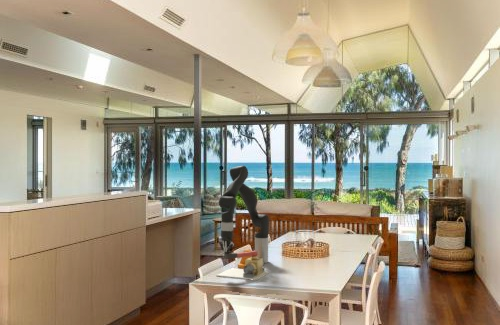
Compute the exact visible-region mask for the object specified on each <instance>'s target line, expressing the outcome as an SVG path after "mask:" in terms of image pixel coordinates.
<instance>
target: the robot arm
mask: <svg viewBox="0 0 500 325" xmlns="http://www.w3.org/2000/svg"><path fill="white" fill-rule="evenodd" d="M229 176H230V178H231V180H232V182H231V183H230V184H229V185H228V187H227V189H226V190H225V192H223V194H222V195H221V196H220V198H219V200H218V206H219V207H220V209H229V210H228V211H224V212H222V213H221V224H220V238H221V241H219V242H218V243H219V246H220V248H221V250H222V251H223V253H224V255H223V256H224V258H225V254H226V253H231V252H232V251H233V249H234V248H235V246H236V244H235V243H234V242H233V238H234V214H235V208H236V206H237V199H236V198H237V196H238V194H240V196H241V199H242V201H243V203H244V205H245V207H246V209H247V211H248V213H249V217H250V220H251V222H252V225H253V227H255V228H260V230H259V231H257V232H256V233H254V251H258V256H257V258H263V261H264V264H267V263H269V234H270V217H269V215H268V214H263V213H261V214H260V213H259V212H258V211H257V205H258V196H257V195H256V193H255V191H254V190H253V189H252V188H251V187H249V186H248V185H246V184H245V181H246V180H247V179H248V176H249V170H248V168H247V166H245V165H240V166H234V167H231V168H230V169H229Z"/></svg>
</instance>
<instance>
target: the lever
mask: <svg viewBox="0 0 500 325" xmlns="http://www.w3.org/2000/svg"><path fill="white" fill-rule="evenodd" d="M248 256H258V251H255V250H251V252H243V251H242V252H229V253H226V254H225V257H224V259H225V260H230V259H238V258H239V259H241V258H242V257H248Z"/></svg>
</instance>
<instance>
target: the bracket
mask: <svg viewBox="0 0 500 325" xmlns="http://www.w3.org/2000/svg"><path fill="white" fill-rule="evenodd" d="M251 251H252V250H251V249H249V248H246V249H245V250H243V251H242V252H251ZM250 257H251V256H248V257H240V261H239V263H237V269H244V267H245V260H246V259H248V258H250Z"/></svg>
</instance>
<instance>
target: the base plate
mask: <svg viewBox="0 0 500 325" xmlns="http://www.w3.org/2000/svg"><path fill="white" fill-rule="evenodd" d="M243 273H244V271H243V269H241V268H238V267H237V268H236V267H235V268H233V267H231V268H228V269H226V270H224V271H222V272H220V273H218V274H216V277H217V276H222V277H221V278H227V277H232V278H231V279H238V278H242V279H241V280H248V279H253V280H252V281H258V280H259V279H261V278H262V277H264V276H266V275H268V274H269V273H270V271H267V270H264V271H263V273H262V274H260V275H258V276H254V277H253V278H250V277H243ZM265 274H266V275H265ZM260 277H261V278H260Z"/></svg>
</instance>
